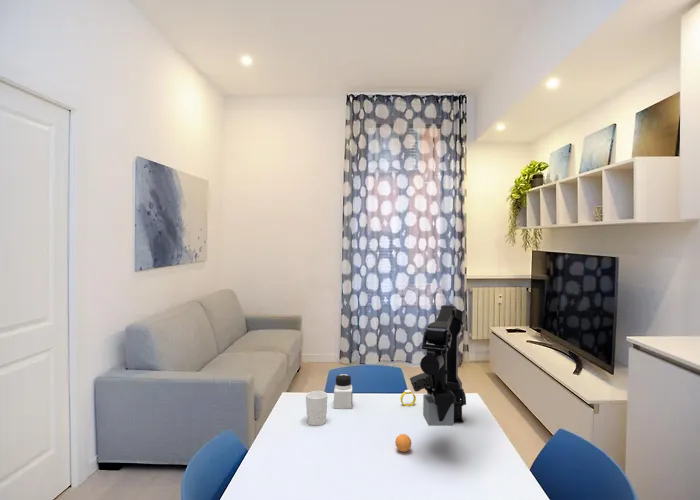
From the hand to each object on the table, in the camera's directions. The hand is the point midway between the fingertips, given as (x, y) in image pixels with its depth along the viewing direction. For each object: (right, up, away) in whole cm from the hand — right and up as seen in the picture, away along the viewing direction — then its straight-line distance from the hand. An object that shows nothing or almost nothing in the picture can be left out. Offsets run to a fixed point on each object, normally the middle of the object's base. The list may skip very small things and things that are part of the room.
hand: (437, 415), depth 128 cm
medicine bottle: (-30, -11, +36) cm, 48 cm away
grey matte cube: (0, -2, 0) cm, 2 cm away
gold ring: (-4, -11, +36) cm, 38 cm away
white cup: (-40, -11, +21) cm, 46 cm away
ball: (-11, -8, -1) cm, 14 cm away
